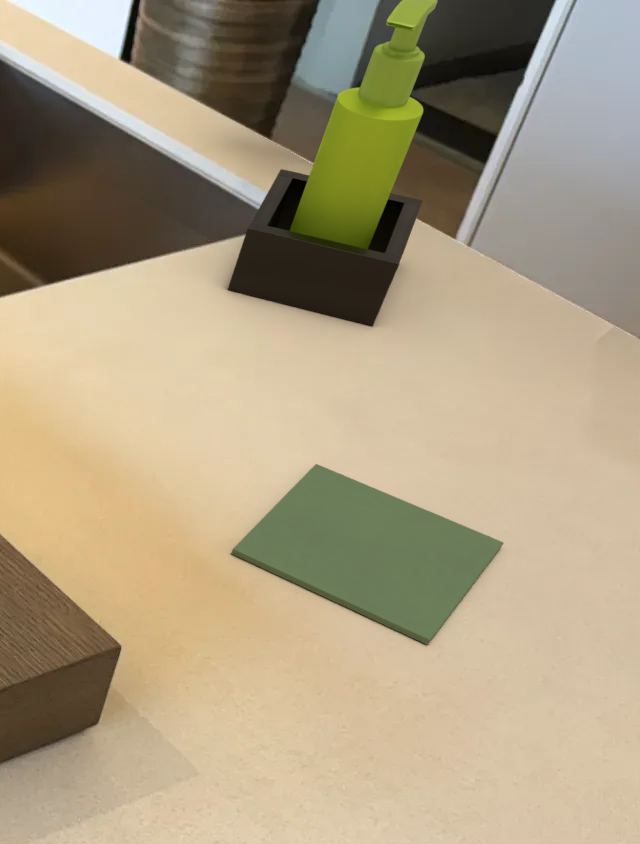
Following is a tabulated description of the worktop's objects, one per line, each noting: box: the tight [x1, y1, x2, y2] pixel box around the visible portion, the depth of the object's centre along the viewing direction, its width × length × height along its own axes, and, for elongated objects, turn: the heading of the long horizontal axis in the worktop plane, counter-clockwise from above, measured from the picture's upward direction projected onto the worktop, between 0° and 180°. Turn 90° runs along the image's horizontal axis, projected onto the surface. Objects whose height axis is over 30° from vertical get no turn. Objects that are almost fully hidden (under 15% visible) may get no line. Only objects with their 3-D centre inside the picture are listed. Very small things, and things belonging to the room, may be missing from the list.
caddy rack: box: [227, 168, 424, 327], centre depth 105 cm, size 12×11×5 cm
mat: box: [231, 463, 504, 645], centre depth 83 cm, size 12×12×1 cm
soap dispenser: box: [290, 0, 438, 249], centre depth 100 cm, size 6×7×20 cm
